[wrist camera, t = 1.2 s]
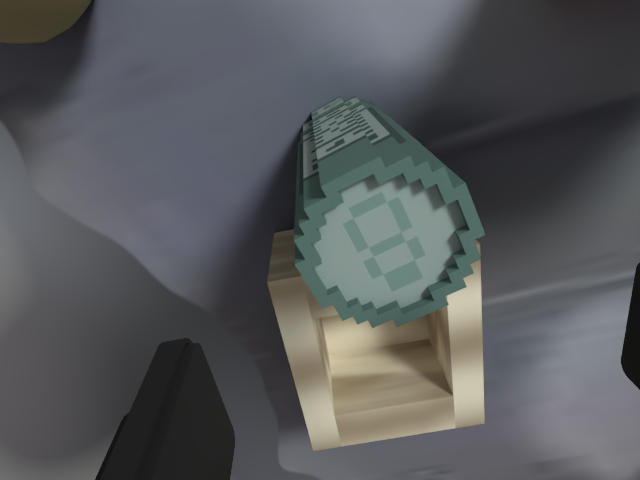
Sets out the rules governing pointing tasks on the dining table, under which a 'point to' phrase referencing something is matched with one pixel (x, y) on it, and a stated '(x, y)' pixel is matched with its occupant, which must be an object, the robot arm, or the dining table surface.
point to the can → (378, 217)
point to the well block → (378, 362)
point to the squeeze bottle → (37, 19)
